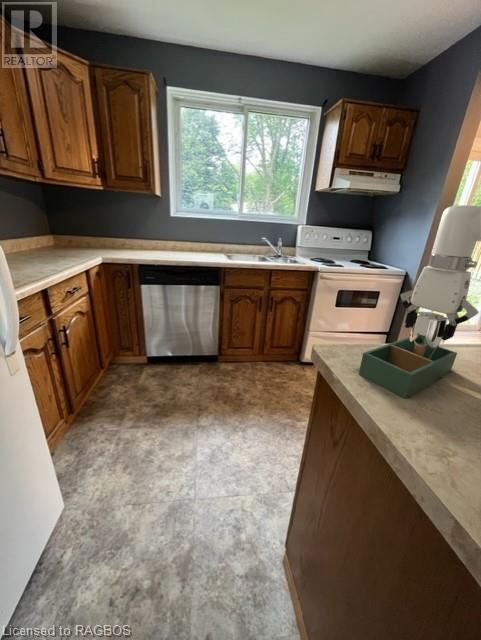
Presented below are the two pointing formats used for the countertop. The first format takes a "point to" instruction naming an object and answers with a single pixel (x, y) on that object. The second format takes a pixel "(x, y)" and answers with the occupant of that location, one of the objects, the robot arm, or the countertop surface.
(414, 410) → the countertop surface
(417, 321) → the beer glass
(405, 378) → the divided box
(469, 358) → the countertop surface
